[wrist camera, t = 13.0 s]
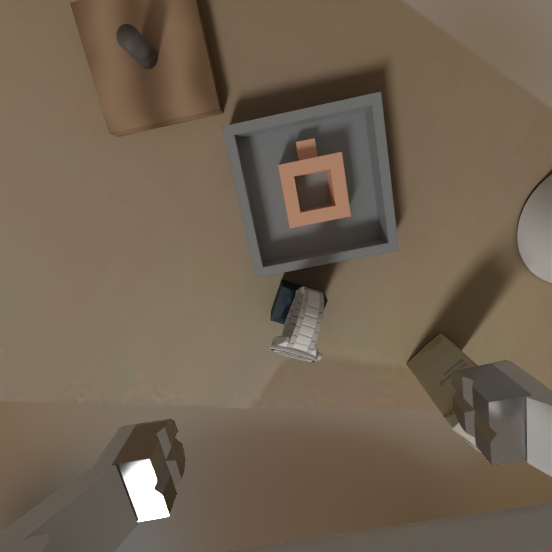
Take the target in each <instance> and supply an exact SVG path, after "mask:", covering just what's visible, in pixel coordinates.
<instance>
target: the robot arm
mask: <svg viewBox="0 0 552 552" xmlns="http://www.w3.org/2000/svg"><path fill="white" fill-rule="evenodd" d="M517 240H518V247H519V251H520V255H521V257H522V259H523V261H524V263H525V264H526V266H527V267H528V268H529V269H530V271H531V272H533V273H534V274H535V275H536V276H538V277H539V278H541V279H543V280H545V281H547V282H550V283H552V174H551V175H550V176H549V177H547V178H546V179H545V180H544V181H543V182H542V183H541V184H540V185H539V186H538V187H537V188H536V189H535V191H534V192H533V193H532V195H531V196H530V197H529V199H528V201H527V203H526V204H525V206H524V209H523V211H522V213H521V216H520V220H519V224H518V232H517ZM451 385H452V386H453V387H454V388H455V389H456V390H457V391H456V393H455V394H454V396H453V398H452V401H453V409H454V412H455V415H456V418H457V420H458V422H459V424H460V426H461V427H462V428H463V430H464V431H465V432H466V433H467V434H469V435H471V436H473V437H475V442H476V446H477V448H478V449H479V450H480V451H481V453H482V454H483V455H484V456H485V458H486V459H487V460H488V461H489V463H490V464H491V465H499V464H506V463H514V462H522V461H527V462H528V463H529V464H531V465H532V466H534V467H536V468H538V469H539V470H541V471H543V472H545V473H546V474H548V475H550V476H551V477H552V390H550V389H549V388H548V387H546V386H545V385H543V384H542V383H541V382H539V381H538V380H536V379H535V378H534V377H532V376H531V375H529V374H528V373H527V372H525V371H524V370H522V369H521V368H520V367H518V366H517V365H515V364H514V363H513V362H511V361H507V360H504V361H499V362H494V363H490V364H486V365H481V366H476V367H471V368H465V369H460V370H455V371H452V372H451ZM177 432H178V429H177V426H176V424H175V421H174V420H172V419H166V420H159V421H153V422H147V423H140V424H133V425H127V426H123V427H121V428H119V430H118V431H117V432H116V434H115V435H114V437H113V438H112V440H111V441H110V443H109V444H108V446H107V447H106V448H105V450H104V451H103V453H102V454H101V456H100V457H99V459H98V460H97V462H96V463H95V465H94V466H93V468H92V469H88V470H85V471H84V472H82V473H81V474H80V475H78V476H77V477H76V478H74V479H73V480H72V481H70V482H69V483H67V484H66V485H65V486H63V487H62V488H61V489H59V490H58V491H56V492H55V493H54V494H52V495H51V496H50V497H48V498H47V499H46V500H44V501H43V502H42V503H40V504H39V505H37V506H36V507H35V508H33V509H32V510H30V511H29V512H28V513H26V514H25V515H24V516H22V517H21V518H19V519H18V520H17V521H16V522H14V523H13V524H11V525H10V526H9V527H7V528H6V529H4V530H3V531H2V532H0V552H114V551H115V550H116V549H117V548H118V547H119V545H120V544H121V543H122V542H123V541H124V540H125V539H126V537H127V536H128V535H129V534H130V533H131V531H132V530H133V529H134V528H135V527H136V525H137V524H138V522H139V521H145V520H150V519H155V518H160V517H166V516H169V515H170V512H171V509H172V506H173V503H174V500H175V498H176V495H177V492H176V489H175V485H176V484H177V483H178V482H179V481H180V480H181V479H182V476H183V473H184V469H185V453H184V448H183V445H182V443H181V442H180V441H178V440H177V439H176V438H175V437H176V434H177ZM224 552H552V503H546V504H539V505H532V506H526V507H520V508H512V509H506V510H500V511H494V512H493V511H492V512H486V513H479V514H473V515H466V516H459V517H452V518H446V519H439V520H433V521H426V522H419V523H412V524H406V525H399V526H392V527H385V528H379V529H372V530H365V531H358V532H352V533H345V534H338V535H331V536H325V537H318V538H311V539H304V540H297V541H291V542H284V543H277V544H270V545H264V546H257V547H251V548H244V549H237V550H231V551H224Z"/></svg>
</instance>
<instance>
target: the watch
mask: <svg viewBox="0 0 552 552" xmlns="http://www.w3.org/2000/svg"><path fill="white" fill-rule="evenodd" d="M327 301H328V300H327V298H326V296H325V294H324V293H323V292H320V291H317V290H314V289H311V288H307V287H304V286H301V285H298V284H295V283H291V282H288V281H285V280H281V283H280V286H279V289H278V292H277V295H276V298H275V301H274V304H273V307H272V310H271V321H275V322H278V323H281V324H284V328H283V333H282V336H278V337H274V339H273V342H272V346H270V349H271V350H273V351H275V352H277V353H280V354H282V355H286V356H289V357H292V358H296V359H300V360H304V361H310V362H317V360H320V359H321V357H322V353H320V352H318V349H317V346H315V343H316V341H317V338H318V334H319V333H318V332H319V331H320V327H321V323H322V318H323V311H324V309H325V306H326V303H327ZM319 322H320V323H319ZM286 325H287V326H286Z"/></svg>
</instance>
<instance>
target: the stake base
mask: <svg viewBox="0 0 552 552" xmlns="http://www.w3.org/2000/svg"><path fill="white" fill-rule="evenodd" d="M70 4H71V7H72V11H73V14H74V17H75V21H76V24H77V27H78V31H79V34H80V37H81V41H82V44H83V47H84V51H85V54H86V57H87V61H88V64H89V67H90V71H91V74H92V77H93V81H94V84H95V87H96V91H97V94H98V97H99V101H100V104H101V107H102V111H103V114H104V117H105V121H106V124H107V127H108V131H109V134H112V135H115V136H118V137H119V136H123V135H128V134H132V133H137V132H141V131H146V130H150V129H155V128H159V127H164V126H168V125H173V124H177V123H182V122H186V121H191V120H195V119H200V118H204V117H209V116H213V115H218V114H222V113H223V111H222V106H221V102H220V97H219V92H218V88H217V83H216V79H215V74H214V70H213V65H212V61H211V56H210V52H209V47H208V42H207V38H206V33H205V29H204V24H203V20H202V15H201V11H200V6H199V1H198V0H80V1H76V2H72V3H70Z"/></svg>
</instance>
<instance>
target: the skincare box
mask: <svg viewBox="0 0 552 552" xmlns="http://www.w3.org/2000/svg"><path fill="white" fill-rule="evenodd" d="M407 366H408V367H409V369H410V370H411V371H412V373H413V374H414V376H415V377H416V378H417V380H418V381H419V383H420V384H421V385H422V387H423V388H424V390H425V391H426V392H427V394H428V395H429V397H430V398H431V399H432V401H433V402H434V404H435V405H436V406H437V408H438V409H439V411H440V412H441V413H442V415H443V416H444V418H445V419H446V420H447V422H448V423H449V425H450V426H451V427H452V429H453V430H454V431H455V432H457V433H458V434H459V435H460V436H461V437H462V438H463V439H464V440H466V441H467V442H468V443H469V444H470V445H472V446H473V447H474V448H475V449H476V450H477V451H479V452H481V451H480V450H479V449H478V448H477V446H476V442H475V437H473V436H471V435H469V434H467V433H466V432H465V431H464V430H463V428H462V427H461V426H460V424H459V422H458V420H457V418H456V415H455V412H454V409H453V401H452V398H453V396H454V394H455V393H456V391H457V390H456V389H455V388H454V387H453V386H452V385H451V372H452V371H455V370H460V369H465V368H471V367H476V366H478V365H477V364H476V363H475V362H473V361H472V360H471V359H470V358H469V357H468V356H467V355H466V354H465V353H464V352H462V351H461V350H460V349H459V348H458V347H457V346H456V345H455V344H453V343H452V342H451V341H450V340H449V339H448V338H447V337H445V336H444V335H443V334H442V333H440V334H438V335H437V336H436V337H435V338H434V339H433V340H432V341H431V342H429V343H428V344H427V345H426V346H425V347H424V348H423V349H422V350H421V351H419V352H418V353H417V354H416V355H415V356H414V357H413V358H412V359H411V360H410V361H409V362H408V363H407Z"/></svg>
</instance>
